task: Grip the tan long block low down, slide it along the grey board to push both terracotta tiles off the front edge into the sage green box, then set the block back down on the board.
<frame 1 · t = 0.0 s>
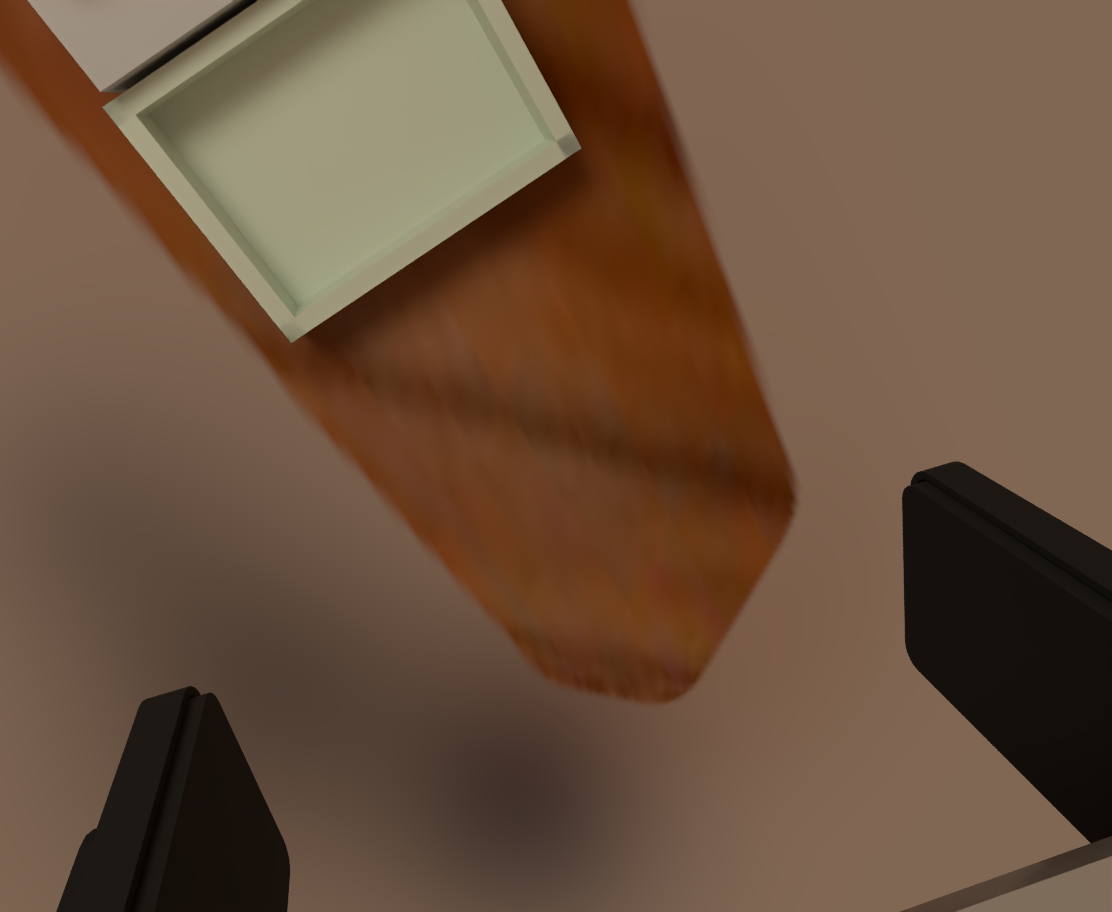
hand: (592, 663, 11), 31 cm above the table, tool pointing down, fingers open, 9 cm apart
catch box: (357, 126, 36), on the table
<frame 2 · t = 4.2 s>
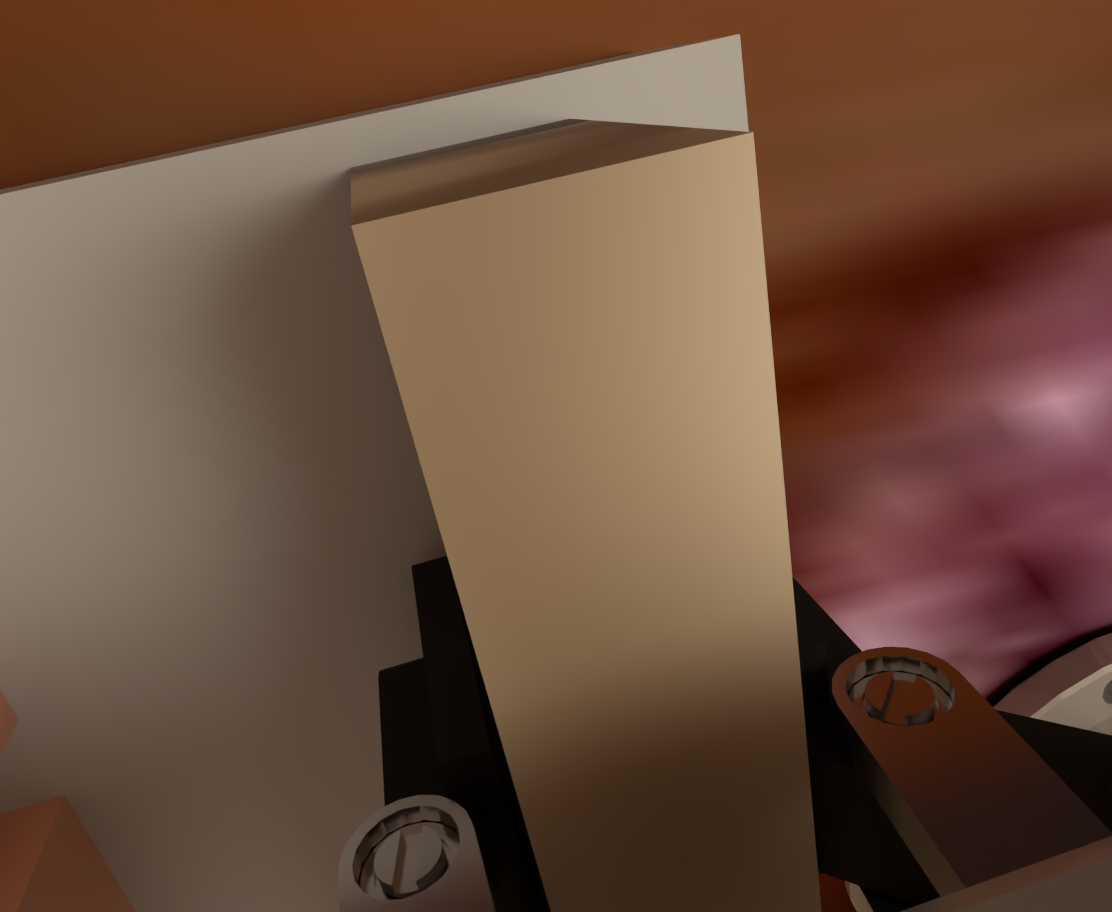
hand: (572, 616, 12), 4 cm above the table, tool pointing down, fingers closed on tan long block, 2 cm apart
bench board: (171, 586, 15), on the table
tan long block: (566, 602, 12), point 4 cm above the table, touching bench board, gripper
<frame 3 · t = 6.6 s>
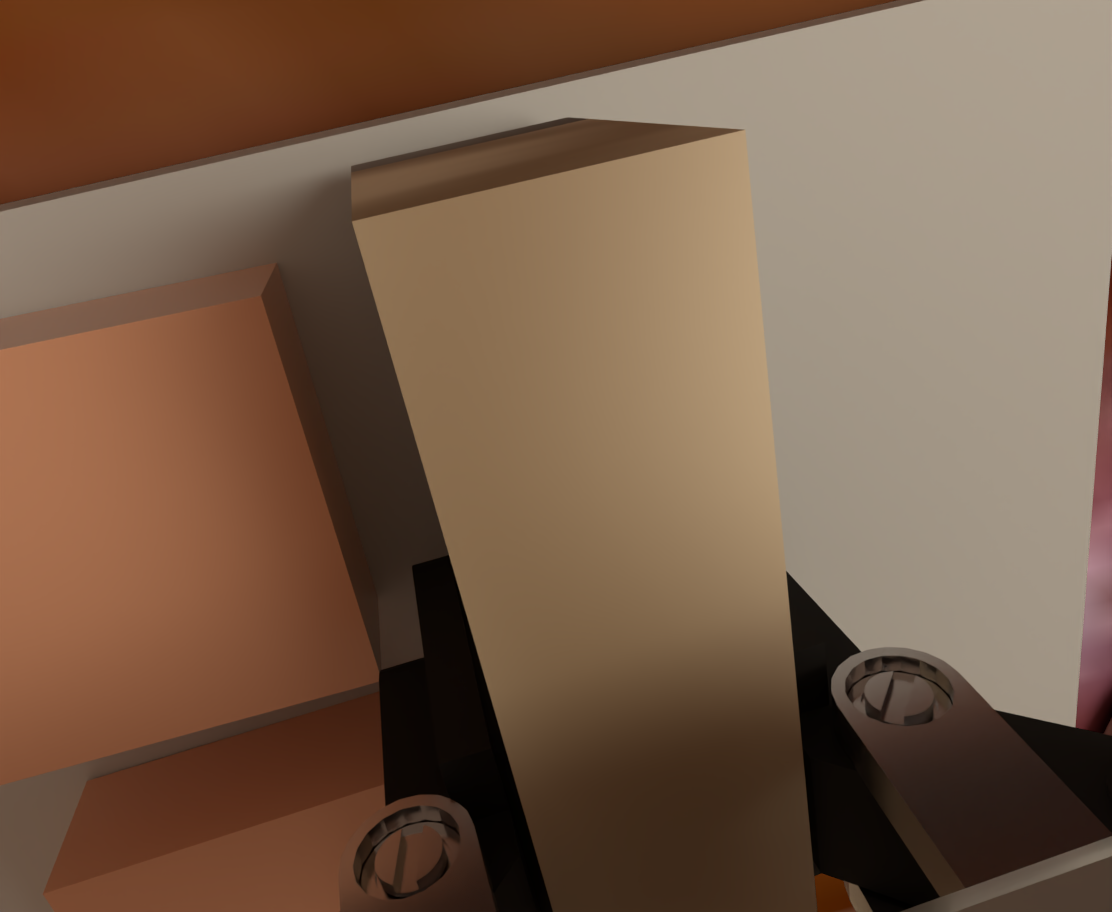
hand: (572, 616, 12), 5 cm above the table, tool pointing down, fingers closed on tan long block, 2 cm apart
bench board: (490, 490, 17), on the table
tile a: (306, 844, 14), point 4 cm above the table, touching bench board
tile b: (142, 489, 11), point 4 cm above the table, touching gripper
tan long block: (564, 596, 13), point 5 cm above the table, touching gripper
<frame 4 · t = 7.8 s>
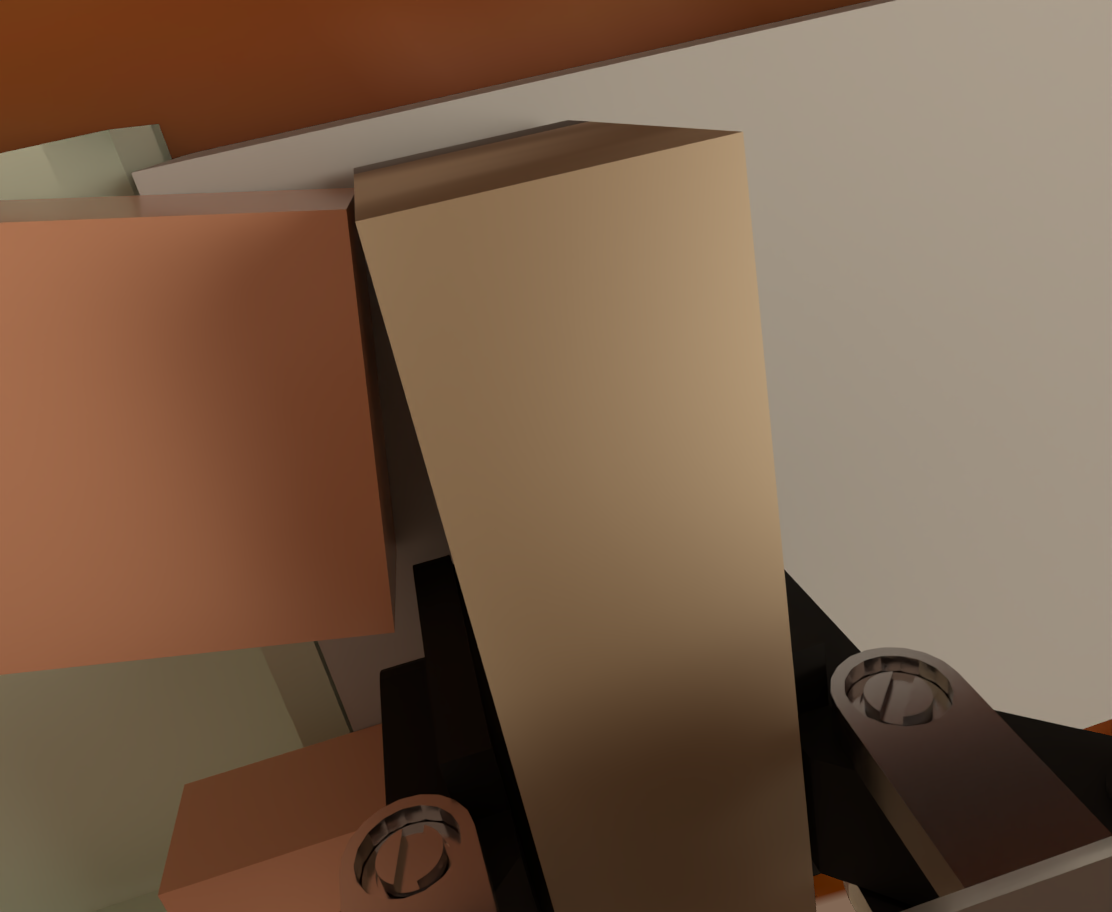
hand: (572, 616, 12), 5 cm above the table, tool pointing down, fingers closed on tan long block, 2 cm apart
bench board: (807, 395, 17), on the table
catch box: (16, 619, 15), on the table
tile a: (389, 844, 14), point 4 cm above the table, touching tan long block
tile b: (179, 399, 11), point 4 cm above the table, touching bench board, gripper
tan long block: (565, 596, 13), point 4 cm above the table, touching gripper, tile a
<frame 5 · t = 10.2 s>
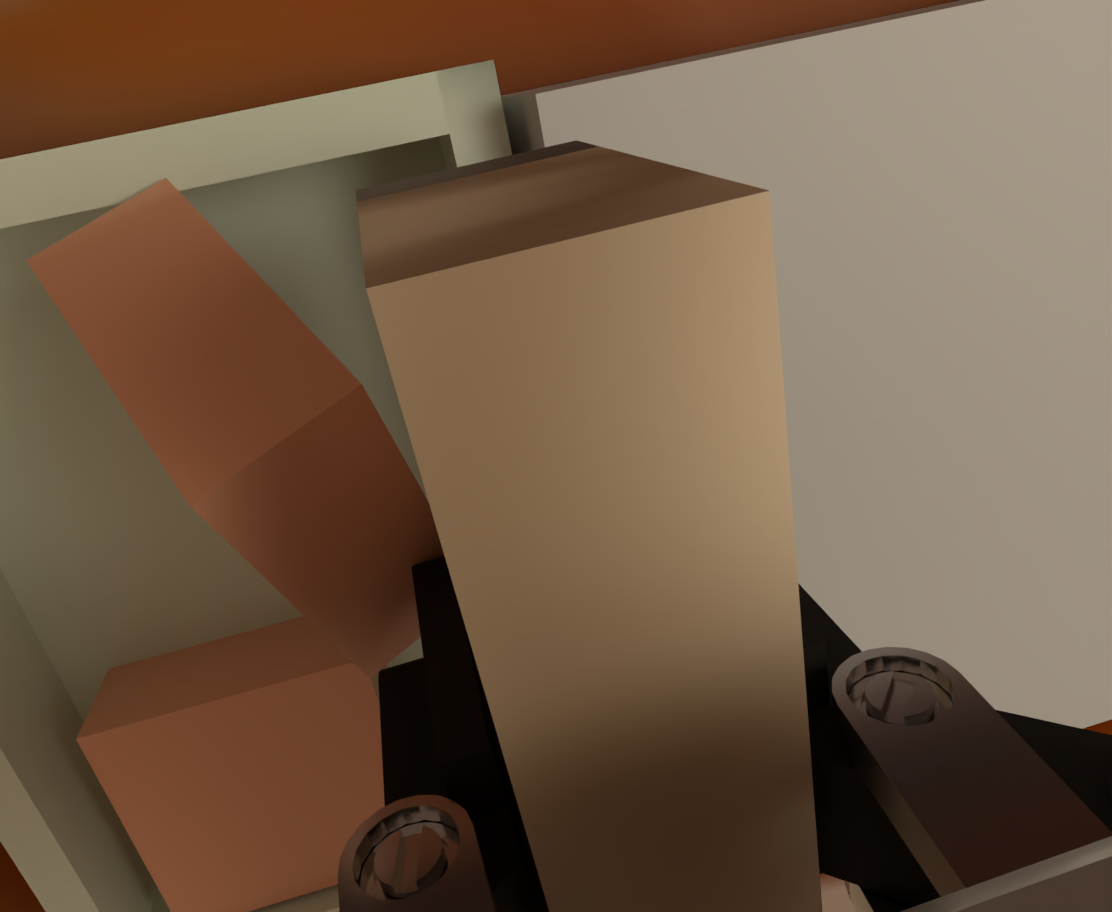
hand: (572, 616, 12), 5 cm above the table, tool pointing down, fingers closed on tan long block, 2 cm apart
bench board: (1007, 348, 18), on the table
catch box: (283, 535, 17), on the table
tile a: (268, 802, 16), point 3 cm above the table, tilted 180°, touching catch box
tile b: (332, 397, 12), point 4 cm above the table, tilted 73°, touching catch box, gripper
tan long block: (569, 617, 12), point 5 cm above the table, touching gripper
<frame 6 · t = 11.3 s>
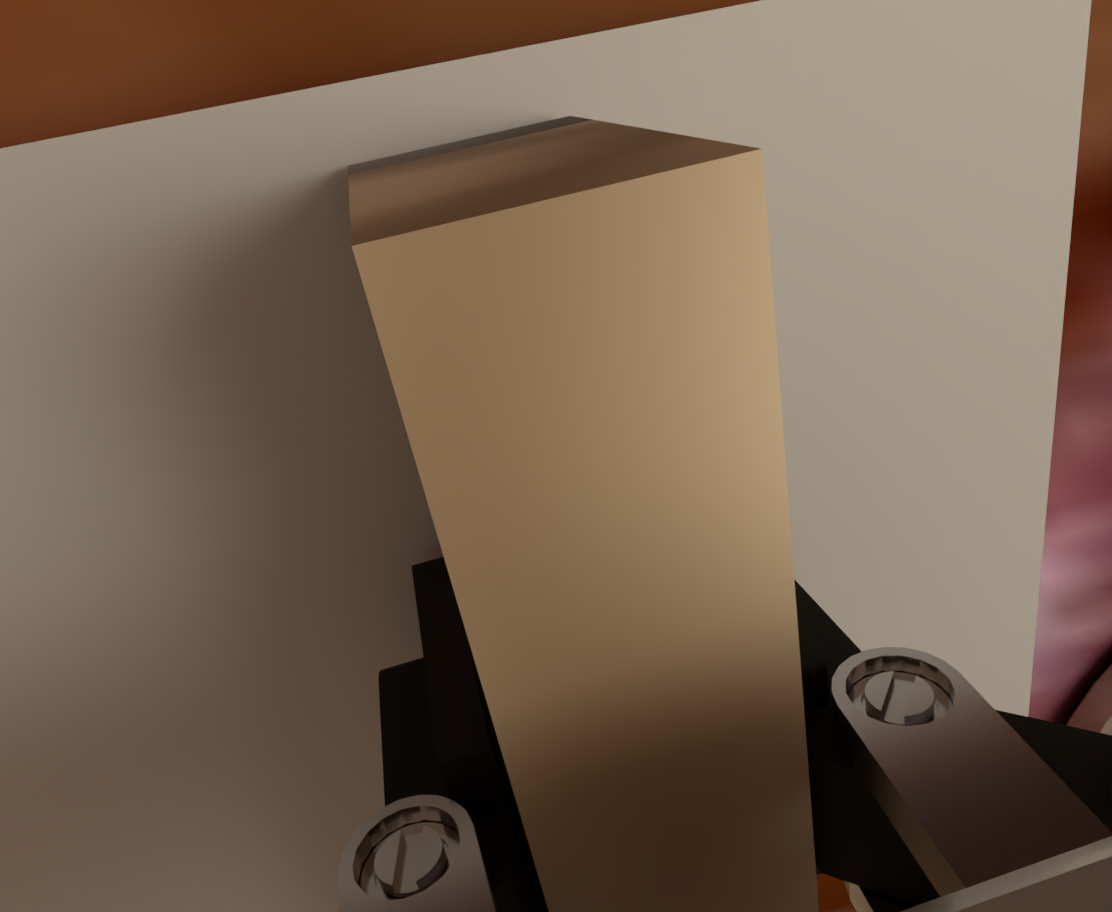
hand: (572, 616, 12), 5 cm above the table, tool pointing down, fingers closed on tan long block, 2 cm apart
bench board: (423, 492, 16), on the table
tan long block: (564, 600, 12), point 4 cm above the table, touching gripper
when the fingers open (5 cm above the table, at t = 12.3 s): tan long block stays where it is, resting on bench board.
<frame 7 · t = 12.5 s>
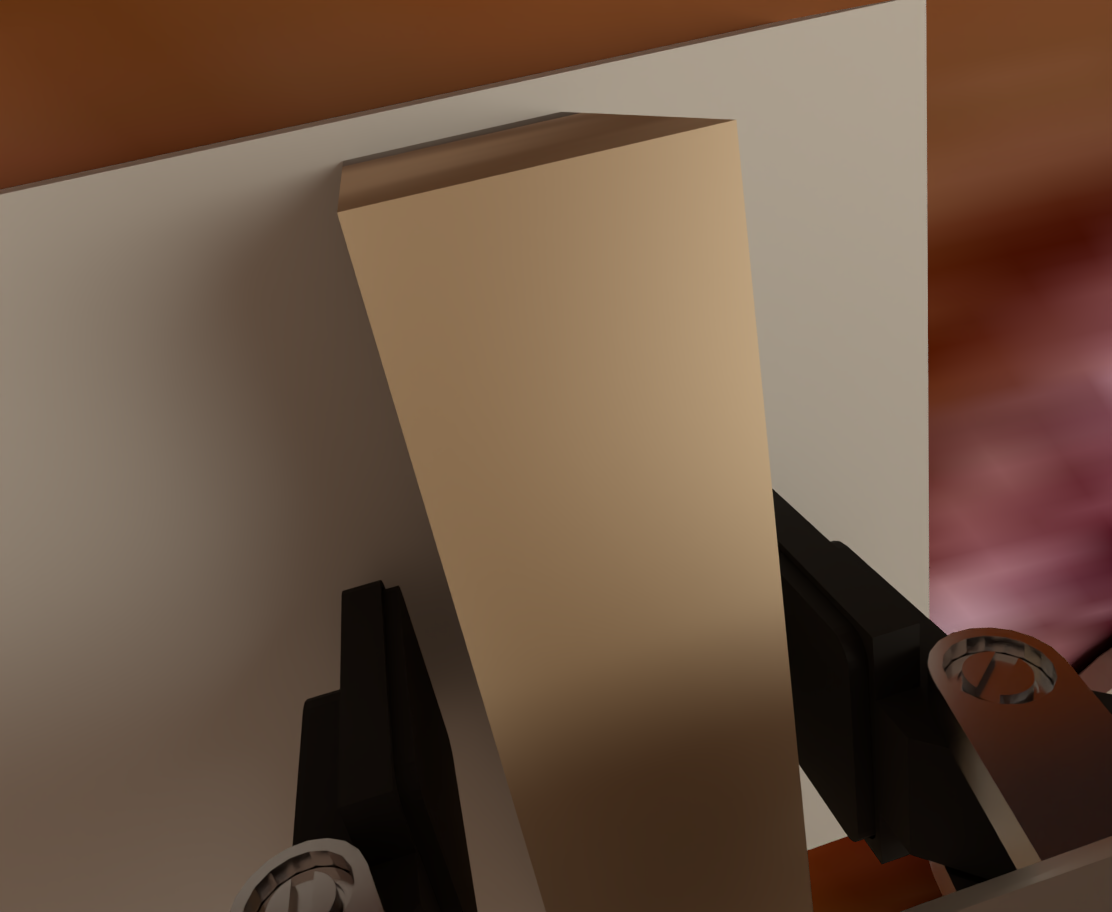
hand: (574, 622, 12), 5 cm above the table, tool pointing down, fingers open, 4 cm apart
bench board: (309, 545, 16), on the table
tan long block: (560, 594, 12), point 4 cm above the table, touching bench board
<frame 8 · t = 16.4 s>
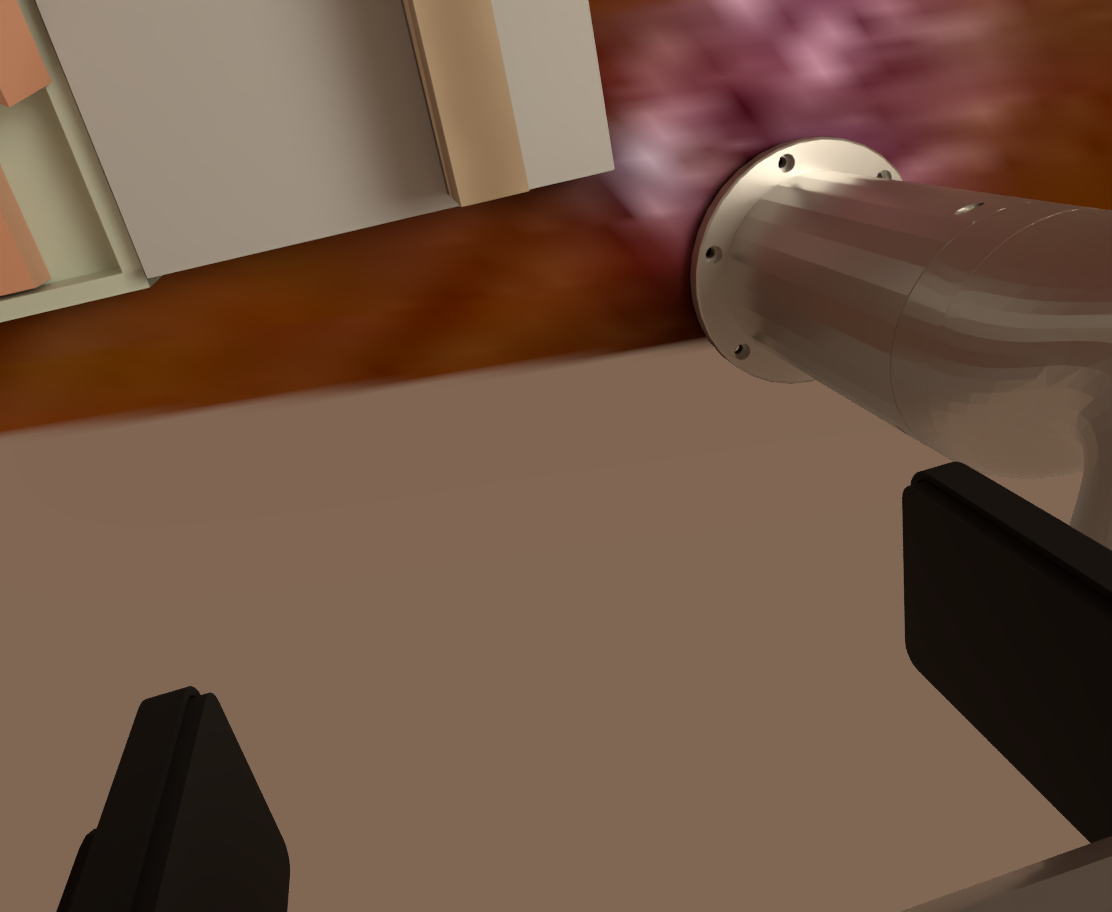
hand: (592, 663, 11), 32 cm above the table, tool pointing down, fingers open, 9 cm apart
bench board: (340, 46, 36), on the table
tan long block: (438, 17, 33), point 4 cm above the table, touching bench board
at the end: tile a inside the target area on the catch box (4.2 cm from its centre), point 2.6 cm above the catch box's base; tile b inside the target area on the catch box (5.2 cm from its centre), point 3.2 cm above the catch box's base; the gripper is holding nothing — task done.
